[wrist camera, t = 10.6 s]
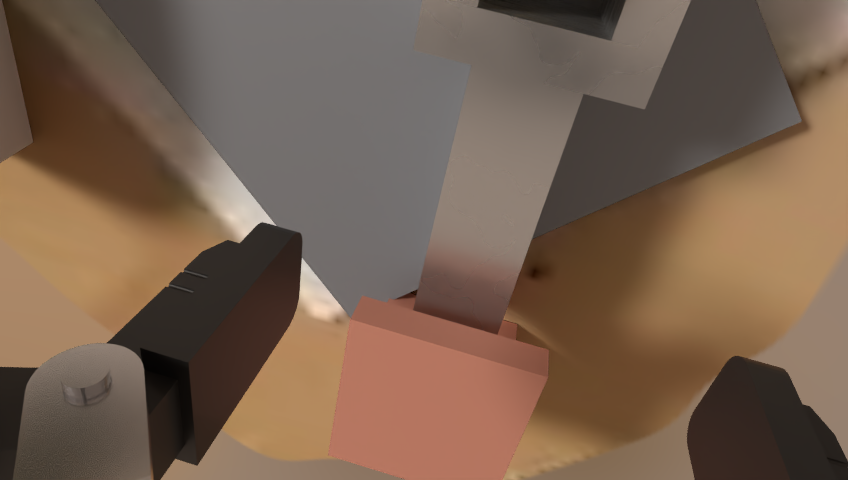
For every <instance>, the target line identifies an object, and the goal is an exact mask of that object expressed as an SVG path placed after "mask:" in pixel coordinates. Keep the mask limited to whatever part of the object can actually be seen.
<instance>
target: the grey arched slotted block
mask: <svg viewBox="0 0 848 480" xmlns="http://www.w3.org/2000/svg"><path fill="white" fill-rule="evenodd" d="M32 143H33V138H32V134H31V129H30V125H29V120H28V116H27V111H26V107H25V102H24V98H23V93H22V89H21V84H20V79H19V75H18V70H17V66H16V61H15V57H14V52H13V48H12V43H11V39H10V34H9V29H8V25H7V20H6V16H5V11H4V7H3V2H2V0H0V163H1V162H2V161H4V160H6V159H7V158H9V157H10V156H12V155H14V154H15V153H17V152H19V151H20V150H22V149H23V148H25V147H27V146H28V145H30V144H32Z"/></svg>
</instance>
